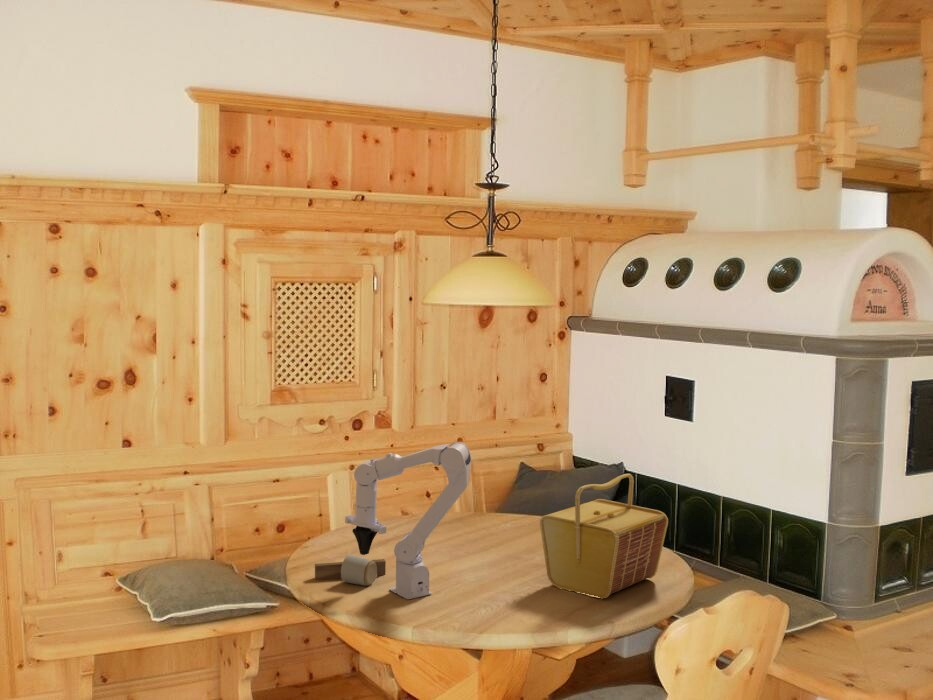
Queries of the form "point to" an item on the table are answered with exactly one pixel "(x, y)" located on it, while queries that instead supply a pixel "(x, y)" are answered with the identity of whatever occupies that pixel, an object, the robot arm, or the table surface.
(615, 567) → the picnic basket
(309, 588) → the table surface
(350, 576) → the ceramic mug
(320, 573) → the rail
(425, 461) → the robot arm
